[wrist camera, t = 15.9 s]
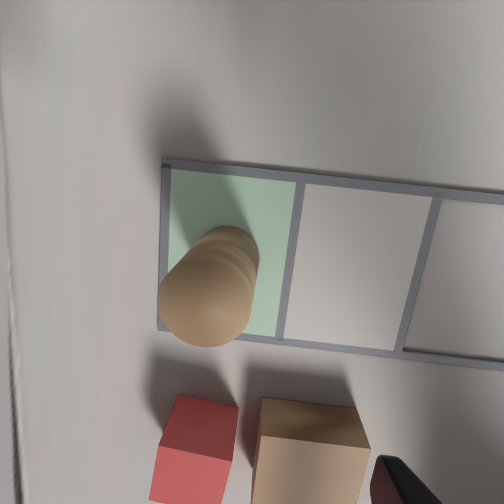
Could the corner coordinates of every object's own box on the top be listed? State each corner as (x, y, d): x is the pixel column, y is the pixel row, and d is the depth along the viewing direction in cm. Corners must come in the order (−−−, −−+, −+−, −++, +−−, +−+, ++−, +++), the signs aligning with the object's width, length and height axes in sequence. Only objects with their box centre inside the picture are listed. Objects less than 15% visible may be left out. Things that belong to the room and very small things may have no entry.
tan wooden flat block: (356, 408, 21) (371, 448, 18) (339, 480, 22) (350, 528, 20) (262, 397, 21) (261, 435, 18) (252, 470, 22) (250, 515, 20)
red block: (232, 461, 17) (158, 445, 17) (217, 515, 19) (148, 500, 18) (238, 406, 21) (178, 393, 21) (226, 453, 22) (169, 441, 22)
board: (581, 202, 17) (584, 203, 16) (516, 370, 19) (519, 372, 19) (163, 158, 17) (161, 157, 17) (158, 329, 20) (157, 330, 20)
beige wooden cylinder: (262, 228, 18) (254, 264, 12) (256, 290, 19) (247, 351, 13) (195, 222, 18) (156, 255, 12) (194, 284, 19) (157, 341, 13)
